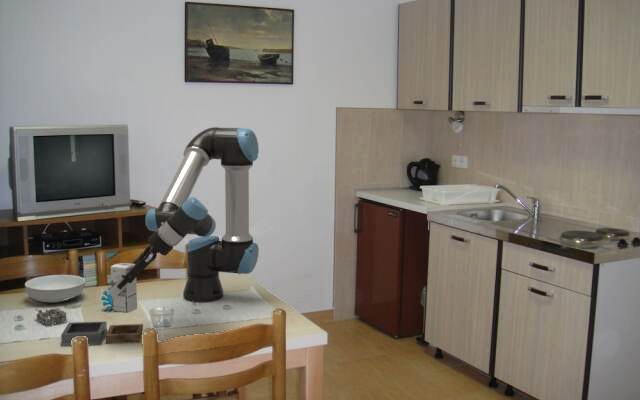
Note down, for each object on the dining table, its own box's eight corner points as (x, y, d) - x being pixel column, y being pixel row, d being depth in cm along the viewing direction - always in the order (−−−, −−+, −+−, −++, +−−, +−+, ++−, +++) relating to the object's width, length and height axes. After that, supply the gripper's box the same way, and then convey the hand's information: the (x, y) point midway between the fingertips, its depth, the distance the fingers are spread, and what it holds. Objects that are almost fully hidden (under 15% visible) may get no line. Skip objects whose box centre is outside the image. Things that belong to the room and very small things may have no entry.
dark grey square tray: (107, 331, 212) (107, 321, 211) (101, 344, 200) (101, 333, 200) (68, 333, 210) (68, 322, 209) (60, 346, 198) (60, 334, 198)
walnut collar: (142, 331, 213) (142, 323, 212) (139, 342, 203) (139, 334, 203) (110, 332, 211) (110, 325, 211) (105, 343, 201) (105, 335, 201)
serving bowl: (25, 310, 232) (24, 291, 231) (25, 294, 251) (25, 277, 250) (88, 304, 240) (87, 286, 240) (83, 289, 259) (83, 272, 259)
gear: (100, 309, 230) (102, 284, 236) (98, 317, 234) (100, 292, 240) (133, 310, 234) (134, 286, 240) (131, 318, 238) (132, 294, 244)
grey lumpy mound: (34, 320, 223) (33, 308, 222) (56, 315, 228) (56, 304, 227) (46, 327, 215) (46, 315, 214) (69, 323, 220) (69, 311, 220)
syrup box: (138, 308, 208) (136, 263, 206) (127, 313, 202) (126, 267, 200) (122, 307, 209) (120, 262, 208) (111, 312, 204) (109, 265, 202)
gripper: (158, 224, 214) (108, 274, 214) (153, 237, 194) (98, 292, 194) (175, 240, 216) (126, 289, 215) (172, 254, 196) (117, 309, 195)
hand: (113, 290), depth 205 cm, fingers closed on syrup box, 7 cm apart
